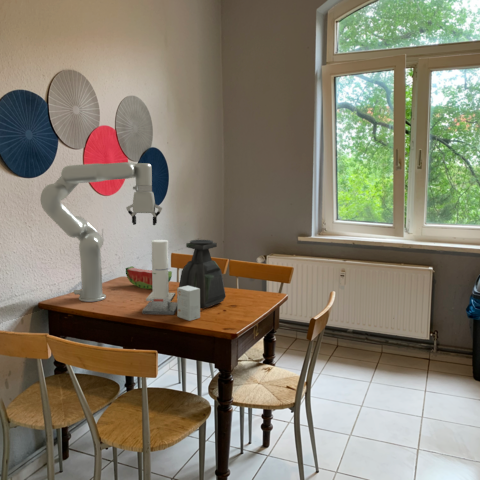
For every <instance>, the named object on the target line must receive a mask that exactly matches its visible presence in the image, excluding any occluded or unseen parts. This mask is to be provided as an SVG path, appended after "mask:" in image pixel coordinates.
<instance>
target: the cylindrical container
mask: <svg viewBox="0 0 480 480" xmlns="http://www.w3.org/2000/svg"><path fill="white" fill-rule="evenodd" d="M151 270H152V289H151V290H152V292H153V297H156V298H164V297H168V296H169V293H170V292H169V286H170V285H169V283H168V271H169V240H167V239H154V240H153V239H152V240H151Z"/></svg>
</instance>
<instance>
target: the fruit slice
mask: <svg viewBox="0 0 480 480" xmlns="http://www.w3.org/2000/svg"><path fill="white" fill-rule="evenodd" d="M172 273H173V271H170V270H168V283H169V282H170V281H171V280H172V276H173V274H172ZM125 274H126V278H127V280H128V281H129V282H130V283H131V284H132V285H133V286H135V287H138V288H140V289H144V288H145V289H146V290H153V289H152V269H151V270H150V269H143V268H142V269H141V268H136V267H135V266H129V267H125Z"/></svg>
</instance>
